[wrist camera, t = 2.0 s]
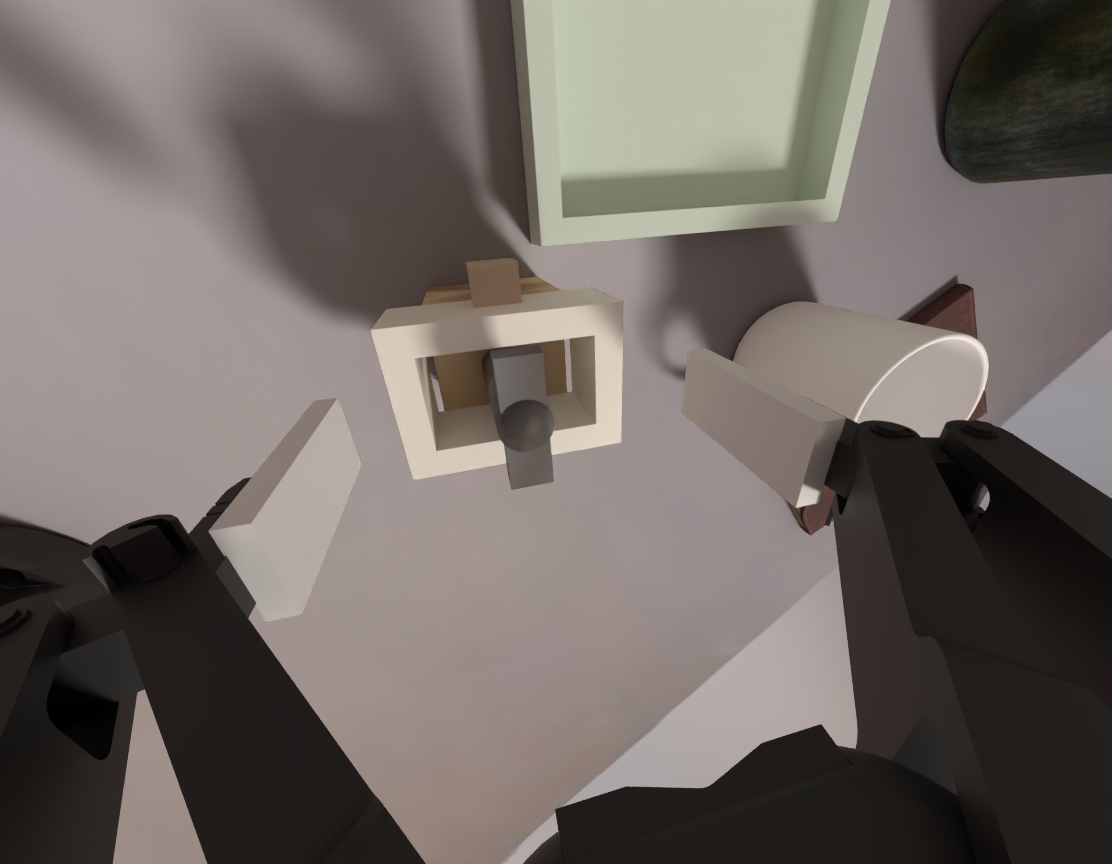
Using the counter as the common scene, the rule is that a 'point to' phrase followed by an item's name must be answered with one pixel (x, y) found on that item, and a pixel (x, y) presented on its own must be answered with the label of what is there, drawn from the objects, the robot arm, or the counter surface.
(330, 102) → the counter surface
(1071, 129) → the mug
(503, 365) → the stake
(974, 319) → the notebook
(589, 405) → the ring
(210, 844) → the robot arm
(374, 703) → the counter surface
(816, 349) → the mug
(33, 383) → the counter surface
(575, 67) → the tray
